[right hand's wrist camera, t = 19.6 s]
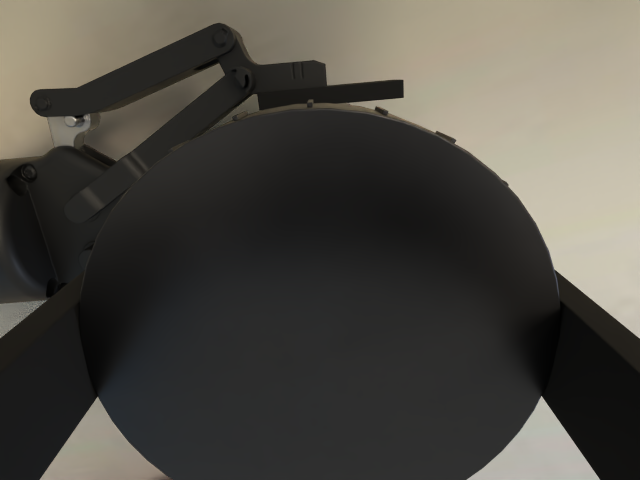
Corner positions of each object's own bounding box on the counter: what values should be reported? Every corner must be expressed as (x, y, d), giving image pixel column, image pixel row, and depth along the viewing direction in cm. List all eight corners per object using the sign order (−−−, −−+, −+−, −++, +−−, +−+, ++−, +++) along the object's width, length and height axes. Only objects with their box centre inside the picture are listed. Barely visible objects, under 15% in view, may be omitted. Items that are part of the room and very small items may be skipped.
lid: (572, 108, 10) (624, 114, 8) (489, 473, 14) (513, 529, 12) (81, 91, 10) (31, 93, 8) (138, 465, 14) (112, 520, 12)
